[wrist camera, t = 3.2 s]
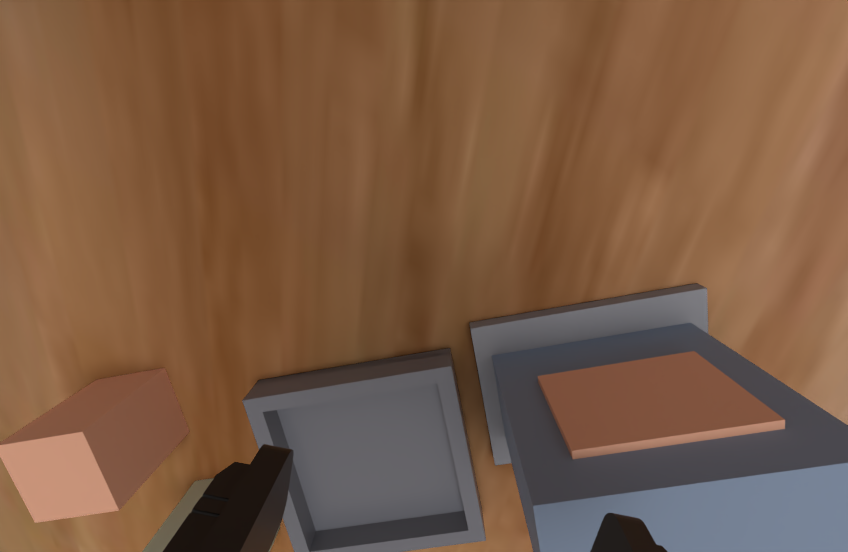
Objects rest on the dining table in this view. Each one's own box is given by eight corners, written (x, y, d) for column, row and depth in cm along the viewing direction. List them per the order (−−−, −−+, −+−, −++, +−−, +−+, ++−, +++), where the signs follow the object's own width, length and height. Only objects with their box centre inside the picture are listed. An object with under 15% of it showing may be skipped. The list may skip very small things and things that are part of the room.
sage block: (195, 480, 31) (129, 569, 25) (260, 470, 31) (211, 558, 24) (217, 535, 33) (159, 634, 26) (280, 526, 32) (238, 624, 25)
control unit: (469, 322, 27) (496, 462, 15) (696, 283, 26) (933, 398, 14) (493, 455, 30) (533, 670, 17) (701, 424, 29) (904, 630, 16)
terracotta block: (96, 379, 29) (-6, 446, 23) (165, 367, 29) (82, 431, 22) (123, 442, 31) (35, 522, 24) (189, 431, 30) (118, 510, 24)
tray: (258, 380, 29) (242, 400, 27) (450, 348, 28) (451, 366, 26) (309, 534, 32) (299, 565, 30) (482, 510, 31) (485, 540, 29)
